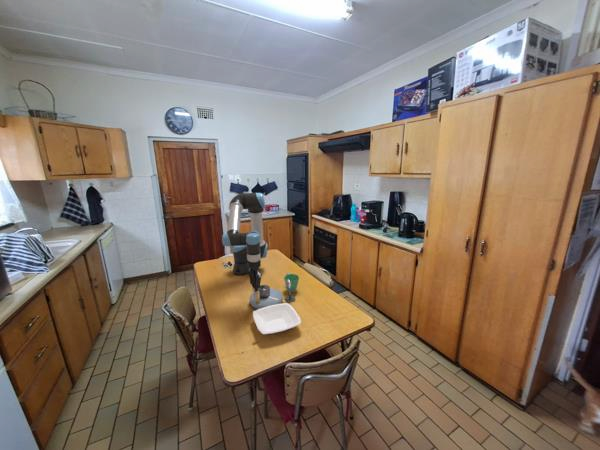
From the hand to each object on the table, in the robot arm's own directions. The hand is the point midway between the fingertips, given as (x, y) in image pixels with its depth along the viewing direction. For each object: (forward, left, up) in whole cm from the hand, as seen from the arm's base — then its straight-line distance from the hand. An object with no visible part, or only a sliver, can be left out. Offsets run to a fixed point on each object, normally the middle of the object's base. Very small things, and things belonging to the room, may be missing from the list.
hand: (255, 296), depth 145 cm
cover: (-2, +6, -2) cm, 7 cm away
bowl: (+23, +3, -7) cm, 25 cm away
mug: (-8, +28, -7) cm, 30 cm away
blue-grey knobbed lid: (-1, +7, -5) cm, 8 cm away
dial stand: (+4, +21, -7) cm, 22 cm away
